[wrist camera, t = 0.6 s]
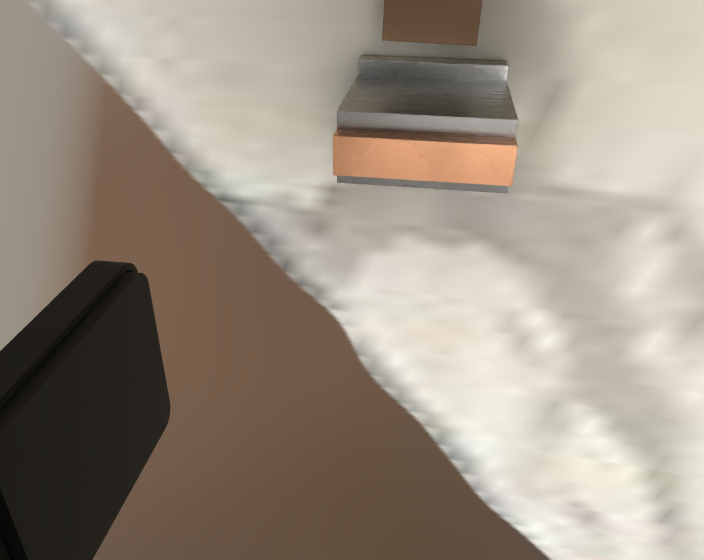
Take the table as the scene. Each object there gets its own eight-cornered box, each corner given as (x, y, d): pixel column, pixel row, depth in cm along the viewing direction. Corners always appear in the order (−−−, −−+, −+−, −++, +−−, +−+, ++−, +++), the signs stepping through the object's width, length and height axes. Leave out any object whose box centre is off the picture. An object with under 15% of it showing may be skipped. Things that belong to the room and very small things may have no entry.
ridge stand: (361, 55, 31) (333, 99, 24) (506, 60, 30) (523, 108, 23) (359, 142, 33) (333, 207, 26) (494, 149, 33) (506, 219, 25)
